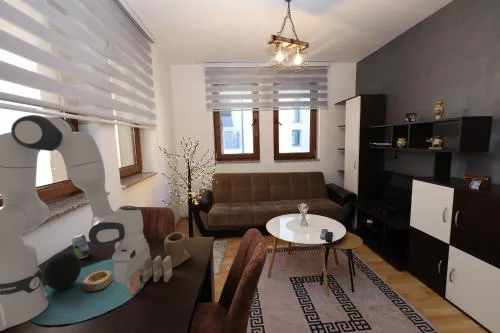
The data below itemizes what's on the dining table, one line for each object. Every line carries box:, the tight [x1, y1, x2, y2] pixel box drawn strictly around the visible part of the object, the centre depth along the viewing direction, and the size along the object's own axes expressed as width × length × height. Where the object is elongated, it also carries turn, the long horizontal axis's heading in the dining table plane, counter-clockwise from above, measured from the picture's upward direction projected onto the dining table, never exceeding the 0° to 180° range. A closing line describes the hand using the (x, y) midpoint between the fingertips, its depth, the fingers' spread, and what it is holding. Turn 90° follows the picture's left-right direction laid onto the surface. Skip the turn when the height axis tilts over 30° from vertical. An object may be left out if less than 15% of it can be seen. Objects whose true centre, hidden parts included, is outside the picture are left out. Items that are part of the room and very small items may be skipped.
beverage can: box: [71, 233, 91, 260], centre depth 126 cm, size 6×7×12 cm
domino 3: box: [152, 255, 163, 283], centre depth 106 cm, size 2×5×9 cm, turn 178°
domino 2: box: [142, 255, 153, 282], centre depth 106 cm, size 2×5×9 cm, turn 178°
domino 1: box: [129, 268, 141, 296], centre depth 97 cm, size 2×5×9 cm, turn 178°
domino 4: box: [162, 255, 173, 283], centre depth 105 cm, size 2×5×9 cm, turn 178°
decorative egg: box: [42, 250, 82, 291], centre depth 100 cm, size 12×12×15 cm
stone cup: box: [161, 231, 192, 269], centre depth 119 cm, size 15×12×15 cm
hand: (135, 279), depth 97 cm, fingers open, 8 cm apart
